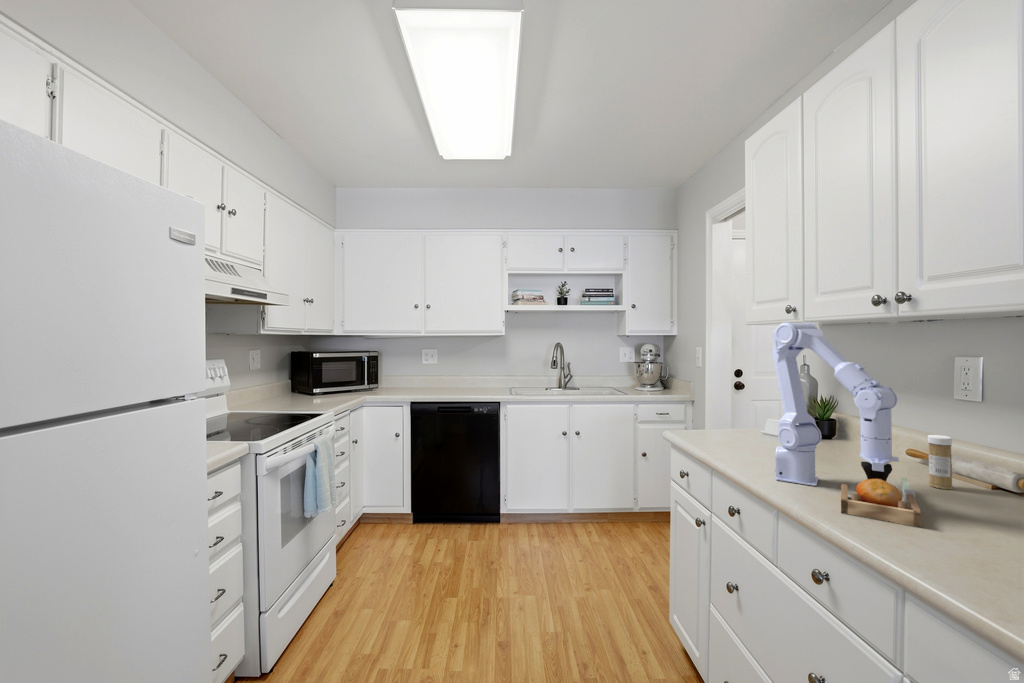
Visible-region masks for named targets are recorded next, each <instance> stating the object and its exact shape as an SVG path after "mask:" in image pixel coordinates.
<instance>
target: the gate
mask: <svg viewBox="0 0 1024 683" xmlns="http://www.w3.org/2000/svg"><path fill="white" fill-rule="evenodd" d="M900 482H901V483H900V485H901V486H900V488H901V494H902V497H903V501H904V502H907V494H912V495H914V497H915V498H916V490H915V489H912V488H911V485H910V484H909V481H908V480H907V477H903V476H902V477H900Z"/></svg>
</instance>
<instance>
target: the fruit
mask: <svg viewBox="0 0 1024 683" xmlns="http://www.w3.org/2000/svg"><path fill="white" fill-rule="evenodd" d="M855 487H856V488H855V489H856V490H855V492H856V494H859V495H860V502H866V503H872V504H878V505H884V506H891V507H897V508H898V501H903V493H902V492H901V491H900V490H899V489H898V488H897V486H895V485H893V484H892V483H889V482H888V481H887V480H886V481H884V480H882V479H867V478H866V479H864V480H862V481H860V482H859V483H858V484H857V485H856V486H855Z"/></svg>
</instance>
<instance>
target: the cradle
mask: <svg viewBox="0 0 1024 683" xmlns="http://www.w3.org/2000/svg"><path fill="white" fill-rule="evenodd" d="M848 493H849V492H848V484H844V483H841V485H840V514H844V513H845V515H849V514H852V515H851V516H855V515H857V516H856V517H860V516H863V517H862V518H866V517H869V518H868V519H871V518H875V519H874V520H877V519H880V520H879V521H882V520H885V521H884V522H888V521H890V522H889V523H893V522H894V523H893V524H898V523H900V525H904V524H907V525H906V526H909V525H912V527H915V526H917V528H920V527H923V523H922V518H923V517H922V516H923V514H922V511H921V509H920V507H919V504H918V501H917V500H916V496H915V497H914V495H912V494H907V502H904V500H902V501H898V508H897V507H891V506H884V505H878V504H872V503H866V502H860V495H859V494H857V493H851V499H848Z"/></svg>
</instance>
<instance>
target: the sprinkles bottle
mask: <svg viewBox="0 0 1024 683" xmlns="http://www.w3.org/2000/svg"><path fill="white" fill-rule="evenodd" d="M927 443H928V474H929V476H928V477H929V481H928V485H929V487H932V488H935V487H936V488H935V489H939V488H941V489H940V490H947V489H949V490H953V464H952V463H953V462H952V458H953V457H952V446H953V438H952V437H951V436H948V435H942V434H941V435H940V434H928V435H927Z"/></svg>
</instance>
